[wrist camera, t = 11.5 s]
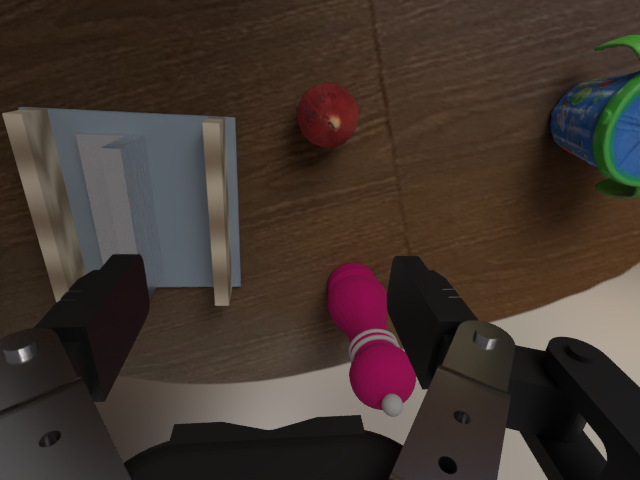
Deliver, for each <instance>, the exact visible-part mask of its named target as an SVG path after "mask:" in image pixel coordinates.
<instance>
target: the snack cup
mask: <svg viewBox="0 0 640 480" xmlns="http://www.w3.org/2000/svg"><path fill="white" fill-rule="evenodd" d="M618 46H627V47H630V48H631V49H632V50H633V52H634V53H635V54H636V55H637V57H638V58H639V60H640V35H628V36H625V37H621V38H618V39H615V40H613V41H610V42H607V43H605V44H602V45H600V46H598V47H596V48H595V51H598V50H604V49H606V48H613V47H618ZM551 116H552V117H551V123H550V126H551V133H552V136H553V140H554V141H555V143H556V144H557V145H559V146H560V147H561V148H563V149H564V150H565V151H567V152H569V153H571V154H572V155H574V156H576V157H578V158H580V159H581V160H584V161H586V162H588V163H589V164H590V165H592V166H594V167H596V168H598V169H599V171H600V172H601V174H602V175H603V176H605V177H608V178H610V179H607V180H604V181H602V182H599V183H598V184H597V185H596V186H595V188H596V190H597V191H599V192H600V193H602V194H605V195H608V196H612V197H617V198H624V199H628V198H634V197H638V196H640V71H638V72H635V73H631V74H628V75H621V76H613V77H606V78H599V79H592V80H588V81H585V82H581V83H579V84H577V85H576V86H575V87H574V88H572V89H571V90H569V91H568V92H567V93H566V94H565V95H564V96H563V97H562V98H561V99H560V101H559V103H558V104H557V105H556V106H555V107H554V108H553V111H552V113H551ZM632 186H635V187H632Z"/></svg>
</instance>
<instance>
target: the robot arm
mask: <svg viewBox="0 0 640 480" xmlns="http://www.w3.org/2000/svg"><path fill="white" fill-rule="evenodd" d="M387 310H388V314H389V316H390V318H391V321H392V323H393V325H394V327H395V330H396V332H397V334H398V336H399V338H400V341H401V343H402V345H403V347H404V350H405V352H406V354H407V356H408V358H409V361H410V363H411V365H412V367H413V370H414V372H415V374H416V376H417V378H418V381H419V383H420V385H421V387H422V389H428V391H427V393H426V395H425V398H424V400H423V402H422V404H421V407H420V409H419V411H418V414H417V416H416V418H415V420H414V423H413V425H412V427H411V430H410V432H409V434H408V436H407V439H406V441H405V443H404V445H401V444H399V443H397V442H396V441H394V440H392V439H390V438H387V437H385V436H383V435H381V434H377V433H374V432H371V431H366V430H364V428H363V423H362V419H361V415H352V416H332V417H316V418H313V419H309V420H306V421H302V422H299V423H295V424H292V425H288V426H285V427H281V428H278V429H274V430H263V429H258V428H252V427H247V426H241V425H236V424H231V423H225V422H211V423H191V424H175V425H174V427H173V431H172V434H171V438H170V441H167V442H164V443H161V444H159V445H156V446H154V447H151V448H149V449H147V450H145V451H143V452H141V453H139V454H137V455H135V456H134V457H132V458H131V459H129V460H127V461H126V462H125V463H123V461H122V459H121V457H120V455H119V453H118V451H117V449H116V447H115V445H114V443H113V441H112V439H111V437H110V435H109V433H108V430H107V428H106V426H105V424H104V422H103V420H102V418H101V416H100V414H99V412H98V410H97V408H96V406H95V403H94V402H103V401H105V400H106V398H107V396H108V394H109V392H110V390H111V388H112V386H113V384H114V382H115V380H116V378H117V376H118V374H119V372H120V370H121V368H122V366H123V364H124V362H125V360H126V358H127V356H128V354H129V352H130V350H131V348H132V346H133V344H134V342H135V340H136V338H137V336H138V334H139V332H140V330H141V328H142V326H143V324H144V322H145V320H146V318H147V315H148V311H149V292H148V286H147V280H146V273H145V267H144V261H143V258H142V256H141V255H140V254H113V255H112V256H111V257H110V258H109V259H108V260H107V261H106V263H105V264H104V265H103V266H102V267H101V269H100V270H93V271H91V272H89V273H87V274H86V275H84V276H82V277H81V278H79V279H77V281H76V282H75V283H74V284H73V285H72V286H71V287H70V288H69V289H68V292H66V293H65V294H64V295H63V296H62V297H61V298H60V301H58V302H57V303H56V304H55V305H54V306H53V307H52V308H51V309H50V311H49V312H48V313H47V314H46V315H45V316H44V317H43V318H42V319H41V321H40V322H39V323H38V324H37V325H36V326H35V327H34V328H32V329H26V330H22V331H18V332H15V333H12V334H9V335H7V336H5V337H3V338H1V339H0V480H497V476H498V470H499V464H500V458H501V452H502V446H503V440H504V434H505V428H509V429H513V430H517V431H520V433H521V435H522V436H523V438H524V440H525V441H526V443H527V445H528V447H529V448H530V450H531V452H532V453H533V455H534V457H535V458H536V460H537V462H538V463H539V465H540V467H541V468H542V470H543V472H544V473H545V475H546V477H547V478H548V480H640V387H639V386H638V385H636V383H634V382H633V381H632V380H631V379H630V378H629V377H628V376H627V375H626V374H625V373H624V372H623V371H622V370H621V369H620V368H619V367H618V366H617V365H616V364H615V363H614V362H613V361H612V360H611V359H609V358H608V357H607V356H606V355H605V354H604V353H603V352H601V351H600V350H599V349H597V348H595V347H594V346H592V345H590V344H588V343H586V342H583V341H580V340H578V339H574V338H569V337H556V338H553V339H551V340H550V341H549V343H548V346H547V348H546V351H541V350H536V349H531V348H526V347H521V346H516V345H515V342H514V341H513V339H512V338H511V336H510V335H509V334H508V333H507V332H505V331H504V330H503V329H501V328H499V327H497V326H496V325H493V324H491V323H488V322H484V321H479V320H478V319H477V318H476V316H475V315H474V314H473V313H472V311H471V310H470V309H469V308H468V306H467V305H466V304H465V302H464V301H463V300H462V299H461V298H459V295H458V293H457V292H456V291H455V290H453V287H452V286H451V285H450V283H449V282H448V281H447V279H446V278H444V277H443V276H441V275H440V274H438V273H437V272H435V271H434V270H428V269H427V267H426V266H425V265H424V263H423V262H422V260H421V259H420V258H419V257H418V256H395V257H394V259H393V262H392V268H391V274H390V280H389V286H388V292H387ZM586 422H587V423H588V424H589V425H590V426H591V428H592V429H593V430H594V431H595V432H596V434H597V435H598V436H599V438H600V439H601V440H602V442H603V444H604V446H605V449H606V452H607V461H606V460H605V459H604V457H603V456H602V455H601V453H600V452H599V451H598V449H597V448H596V447H595V446H594V444H593V443H592V442H591V441H590V439H589V438H588V436H587V435H586V434H585V433H584V431H583V429H584V427H585V424H586Z"/></svg>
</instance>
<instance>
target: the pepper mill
mask: <svg viewBox="0 0 640 480" xmlns="http://www.w3.org/2000/svg"><path fill="white" fill-rule="evenodd" d="M327 289H328V293H329V296H328V300H327V306H328V311H329V314H330V317H331V319H332V320H333V322H334V323H335V324H336V326H337V327H338V328H339V329H341V330H342V331H343V332H344V333H345V334H346V335H347V336H348V338H349V340H350V343H351V344H350V346H349V357H350V361H351V368H350V372H349V377H350V383H351V386H352V389H353V391H354V393H355V395H356V396H357V397H358V398H359V400H360V401H362V402H363V403H364V404H365V405H367V406H369V407H371V408H374V409H379V410H383V411H384V412H385V413H386V414H387V415H389V416H392V417H395V416H398V415H399V414H400V413H401V412H402V410H403V403H404V402H405V401H406V400H407V399H408V398H409V397H410V395H411V394H412V392H413V390H414V387H415V382H416V374H415V372H414V370H413V367H412V365H411V363H410V361H409V358H408V356H407V354H406V352H404V351H403V350H402V349H400V346H399V344H398V342H397V339H396V338H395V336H394V335H393V334H392V333H390V332H389V331H388V330H387V323H386V321H387V316H388V310H387V294H386V291H385V289H384V287H383V286H382V284H381V283H380V282H379V281H378V280H376V279H375V277H374V275H373V273H372V271H371V270H370V269H369V268H368V267H366V266H365V265H362V264H359V263H348V264H344V265H342V266H340V267H338V268H337V269H335V270H334V271H333V272H332V274H331V275H330V277H329V279H328V283H327Z"/></svg>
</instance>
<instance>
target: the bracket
mask: <svg viewBox="0 0 640 480" xmlns="http://www.w3.org/2000/svg"><path fill="white" fill-rule="evenodd" d="M75 135H76V139H77V144H78V149H79V154H80V158H81V163H82V168H83V173H84V177H85V182H86V187H87V191H88V196H89V201H90V206H91V210H92V215H93V220H94V224H95V229H96V234H97V239H98V243H99V248H100V253H101V258H102V262H103V265H104V264H105V263H106V261H107V260H108V259H109V258H110V257H111V256H112V255H113V254H140V255H141V256H142V258H143V261H144V267H145V273H146V280H147V286H148V292H149V300H150V298H151V296H152V294H153V293H154V291H155V289H156V287H157V285H158V283H159V281H160V279H161V277H162V275H163V273H164V270H163V263H162V255H161V248H160V240H159V233H158V225H157V218H156V210H155V203H154V195H153V188H152V181H151V173H150V166H149V158H148V151H147V143H146V136H145V134H121V133H97V132H79V133H77V134H75Z"/></svg>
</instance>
